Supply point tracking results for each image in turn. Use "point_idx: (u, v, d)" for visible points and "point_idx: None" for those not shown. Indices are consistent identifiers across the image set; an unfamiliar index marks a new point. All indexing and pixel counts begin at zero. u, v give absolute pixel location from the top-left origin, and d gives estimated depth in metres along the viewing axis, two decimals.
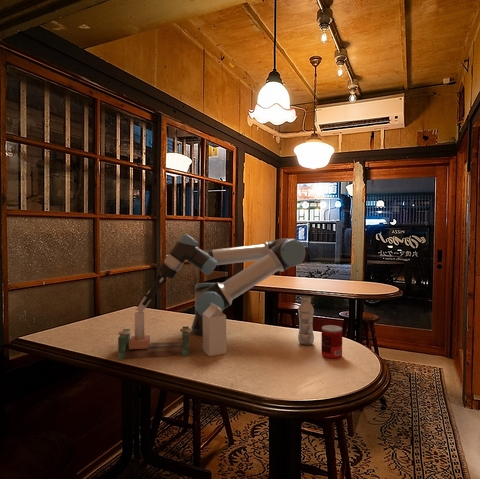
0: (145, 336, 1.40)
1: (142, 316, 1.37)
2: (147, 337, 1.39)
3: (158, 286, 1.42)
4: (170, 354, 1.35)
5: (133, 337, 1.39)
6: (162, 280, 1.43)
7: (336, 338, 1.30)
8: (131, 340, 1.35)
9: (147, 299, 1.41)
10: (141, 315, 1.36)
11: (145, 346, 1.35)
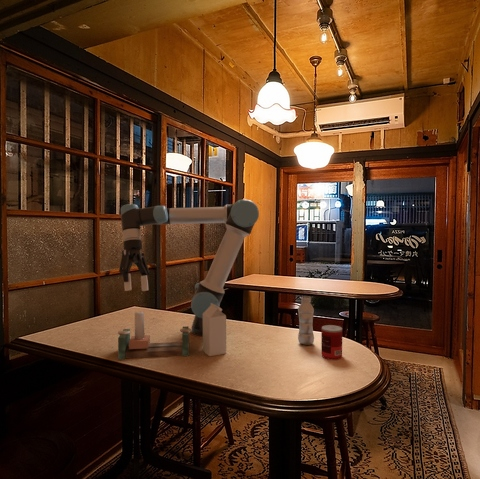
0: (145, 336, 1.40)
1: (142, 316, 1.37)
2: (147, 337, 1.39)
3: (125, 258, 1.40)
4: (170, 354, 1.35)
5: (133, 337, 1.39)
6: (125, 251, 1.41)
7: (336, 338, 1.30)
8: (131, 340, 1.35)
9: (124, 274, 1.38)
10: (141, 315, 1.36)
11: (145, 346, 1.35)
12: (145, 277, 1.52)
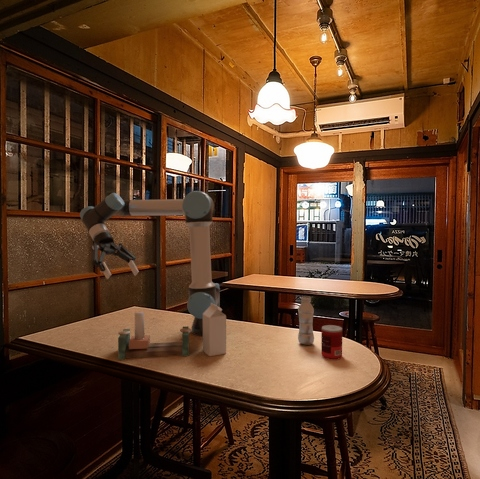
0: (145, 336, 1.40)
1: (142, 316, 1.37)
2: (147, 337, 1.39)
3: (94, 251, 1.41)
4: (170, 354, 1.35)
5: (133, 337, 1.39)
6: (93, 246, 1.43)
7: (336, 338, 1.30)
8: (131, 340, 1.35)
9: (99, 265, 1.38)
10: (141, 315, 1.36)
11: (145, 346, 1.35)
12: (131, 262, 1.50)
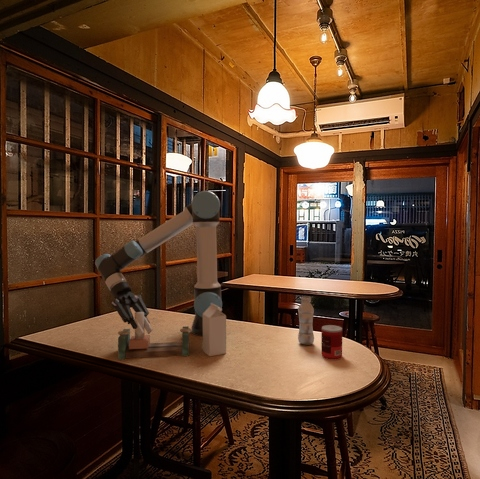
0: (145, 336, 1.40)
1: (142, 316, 1.37)
2: (147, 337, 1.39)
3: (118, 308, 1.36)
4: (170, 354, 1.35)
5: (133, 337, 1.39)
6: (114, 303, 1.36)
7: (336, 338, 1.30)
8: (131, 340, 1.35)
9: (130, 322, 1.35)
10: (141, 315, 1.36)
11: (145, 346, 1.35)
12: (144, 319, 1.39)
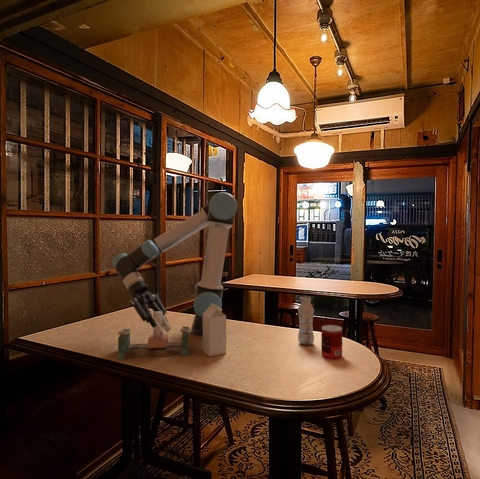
0: (163, 335, 1.41)
1: (161, 315, 1.38)
2: (165, 336, 1.40)
3: (137, 307, 1.37)
4: (170, 354, 1.35)
5: (151, 336, 1.40)
6: (132, 301, 1.37)
7: (336, 338, 1.30)
8: (150, 339, 1.36)
9: (149, 321, 1.36)
10: (160, 314, 1.37)
11: (164, 345, 1.36)
12: None
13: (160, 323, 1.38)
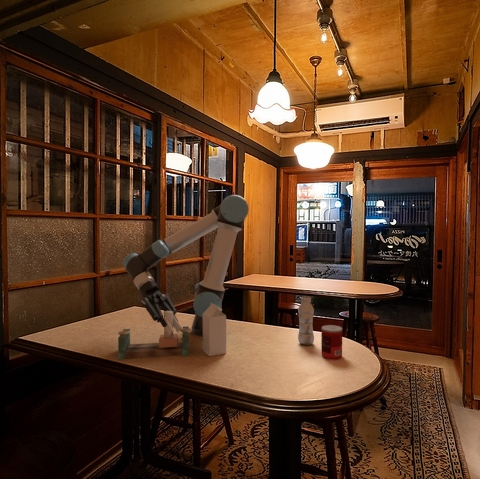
0: (173, 335, 1.42)
1: (171, 315, 1.38)
2: (176, 336, 1.41)
3: (148, 307, 1.37)
4: (170, 354, 1.35)
5: (162, 336, 1.41)
6: (143, 301, 1.38)
7: (336, 338, 1.30)
8: (161, 339, 1.37)
9: (160, 320, 1.37)
10: (170, 314, 1.38)
11: (175, 345, 1.37)
12: None
13: (171, 323, 1.38)
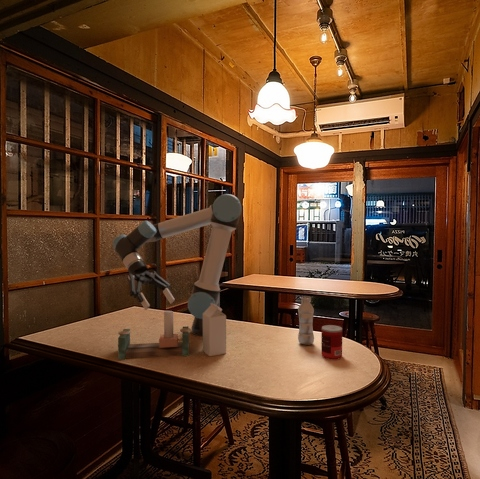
0: (174, 335, 1.42)
1: (171, 315, 1.38)
2: (176, 336, 1.41)
3: (130, 282, 1.41)
4: (170, 354, 1.35)
5: (162, 336, 1.41)
6: (129, 276, 1.42)
7: (336, 338, 1.30)
8: (161, 339, 1.37)
9: (136, 296, 1.38)
10: (170, 314, 1.38)
11: (175, 345, 1.37)
12: (166, 290, 1.50)
13: (171, 323, 1.38)
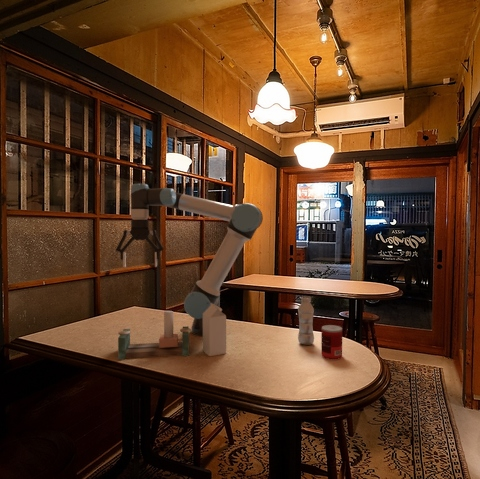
0: (174, 335, 1.42)
1: (171, 315, 1.38)
2: (176, 336, 1.41)
3: None
4: (170, 354, 1.35)
5: (162, 336, 1.41)
6: None
7: (336, 338, 1.30)
8: (161, 339, 1.37)
9: None
10: (170, 314, 1.38)
11: (175, 345, 1.37)
12: None
13: (171, 323, 1.38)
